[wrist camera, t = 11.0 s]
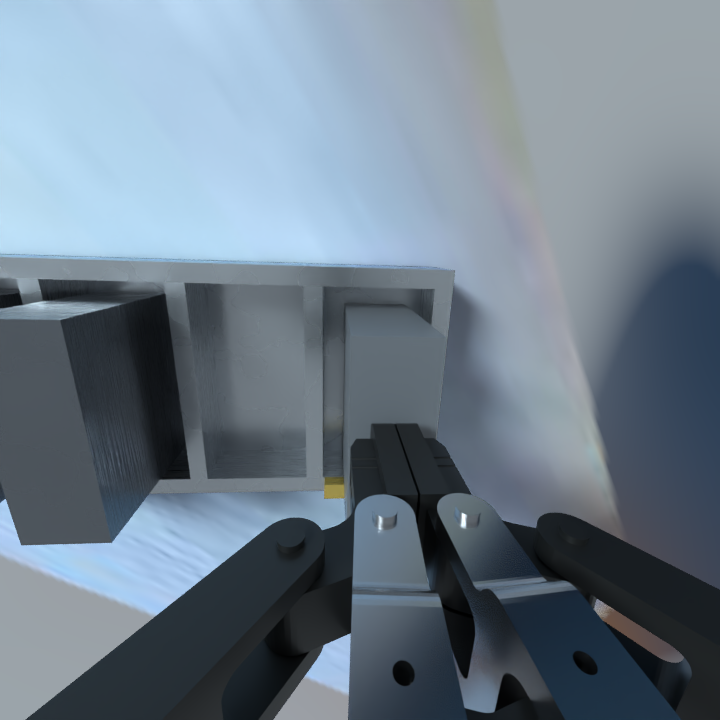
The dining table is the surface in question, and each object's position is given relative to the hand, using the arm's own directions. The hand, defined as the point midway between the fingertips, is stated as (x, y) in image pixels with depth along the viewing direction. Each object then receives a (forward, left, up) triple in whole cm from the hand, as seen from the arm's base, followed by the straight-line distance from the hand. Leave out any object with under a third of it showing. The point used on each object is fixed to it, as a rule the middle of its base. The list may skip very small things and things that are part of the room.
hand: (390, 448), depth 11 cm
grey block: (0, 0, -7) cm, 7 cm away
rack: (0, -8, -8) cm, 12 cm away
